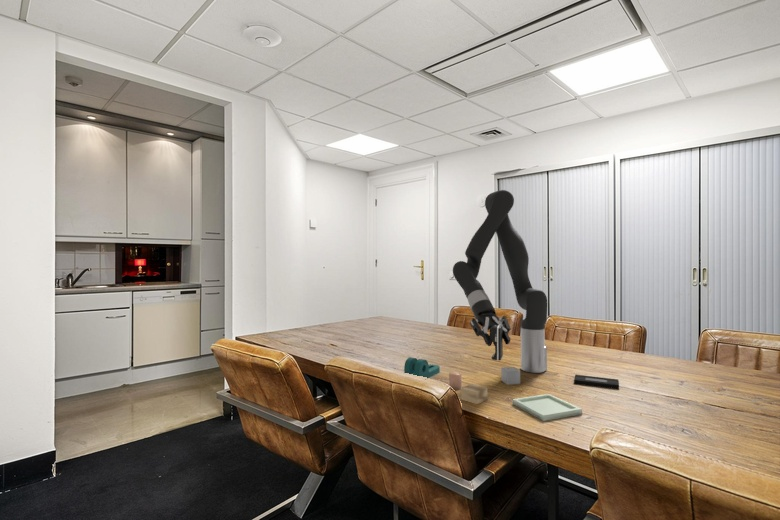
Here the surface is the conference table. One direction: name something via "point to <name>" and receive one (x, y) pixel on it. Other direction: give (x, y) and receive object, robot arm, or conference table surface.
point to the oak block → (474, 393)
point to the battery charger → (497, 341)
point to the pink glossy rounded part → (455, 380)
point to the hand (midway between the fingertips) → (499, 343)
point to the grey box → (510, 375)
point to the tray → (547, 407)
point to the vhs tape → (596, 381)
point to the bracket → (420, 367)
